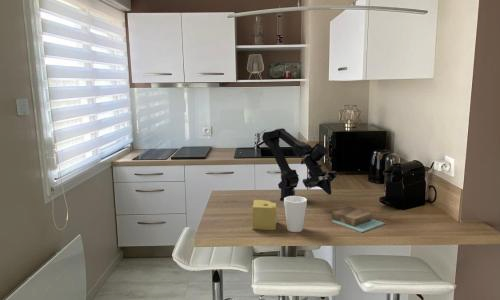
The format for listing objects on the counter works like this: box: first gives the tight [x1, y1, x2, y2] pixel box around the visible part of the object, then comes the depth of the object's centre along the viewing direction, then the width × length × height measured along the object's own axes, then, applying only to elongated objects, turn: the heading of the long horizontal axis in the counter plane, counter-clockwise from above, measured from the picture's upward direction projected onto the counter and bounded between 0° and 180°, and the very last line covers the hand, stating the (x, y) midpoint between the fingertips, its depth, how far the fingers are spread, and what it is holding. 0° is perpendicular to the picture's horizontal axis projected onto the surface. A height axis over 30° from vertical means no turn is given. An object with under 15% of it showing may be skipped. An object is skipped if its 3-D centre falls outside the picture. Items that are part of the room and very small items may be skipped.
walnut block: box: [331, 206, 373, 227], centre depth 175 cm, size 4×12×12 cm
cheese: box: [251, 199, 278, 231], centre depth 168 cm, size 10×11×10 cm
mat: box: [331, 218, 385, 233], centre depth 172 cm, size 16×16×1 cm
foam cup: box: [283, 195, 308, 233], centre depth 164 cm, size 10×9×13 cm
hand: (330, 194), depth 183 cm, fingers closed
